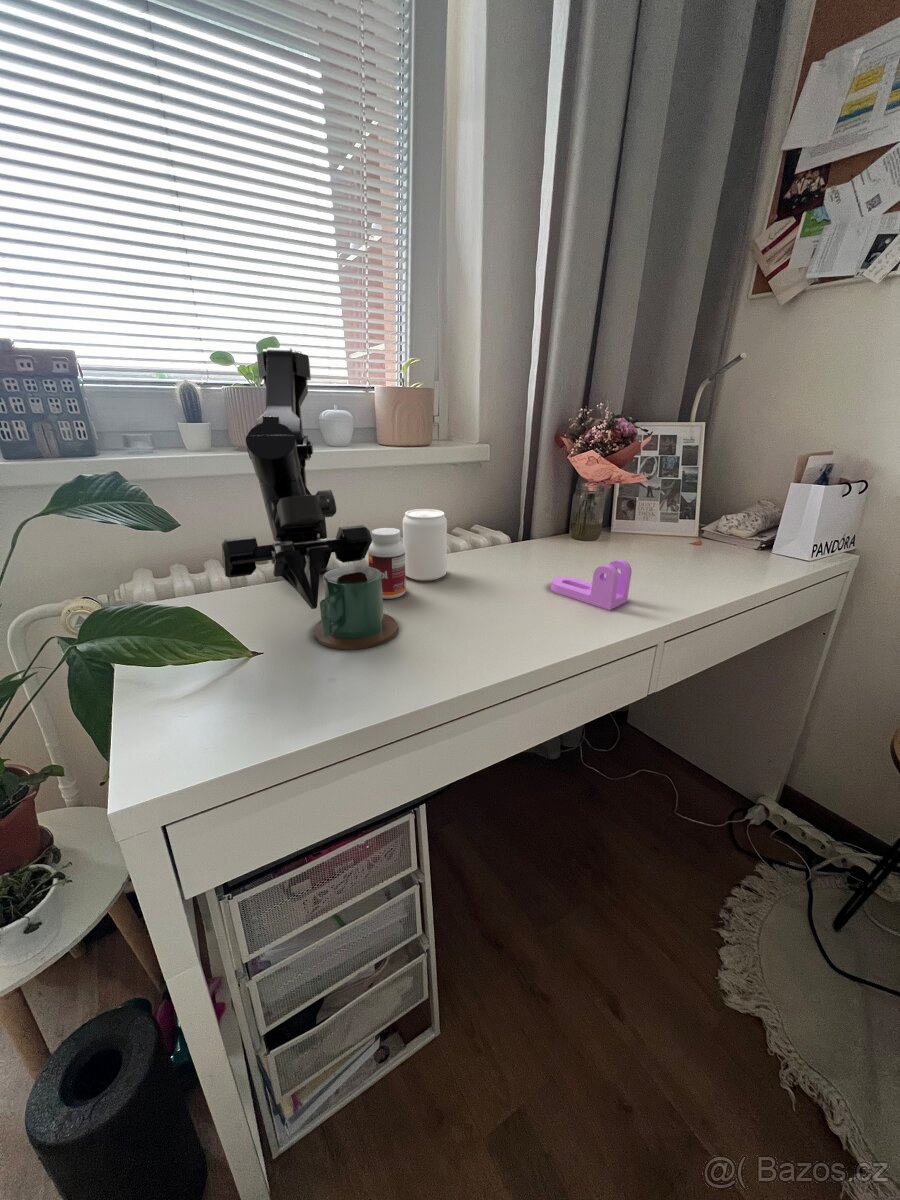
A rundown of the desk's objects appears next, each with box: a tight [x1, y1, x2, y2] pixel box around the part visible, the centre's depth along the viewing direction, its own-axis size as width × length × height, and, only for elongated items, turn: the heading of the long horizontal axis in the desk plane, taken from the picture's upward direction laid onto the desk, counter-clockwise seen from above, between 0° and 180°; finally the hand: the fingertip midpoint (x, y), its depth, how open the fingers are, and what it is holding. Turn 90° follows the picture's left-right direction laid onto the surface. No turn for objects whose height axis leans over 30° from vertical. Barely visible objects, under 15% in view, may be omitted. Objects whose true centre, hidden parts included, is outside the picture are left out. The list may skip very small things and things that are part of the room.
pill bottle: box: [367, 527, 407, 600], centre depth 85 cm, size 6×6×11 cm
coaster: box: [313, 612, 399, 651], centre depth 73 cm, size 12×12×1 cm
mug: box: [319, 565, 384, 639], centre depth 70 cm, size 12×8×8 cm
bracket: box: [550, 558, 633, 611], centre depth 86 cm, size 13×6×7 cm, turn 43°
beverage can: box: [402, 508, 448, 582], centre depth 94 cm, size 8×8×12 cm
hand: (314, 607), depth 64 cm, fingers closed
